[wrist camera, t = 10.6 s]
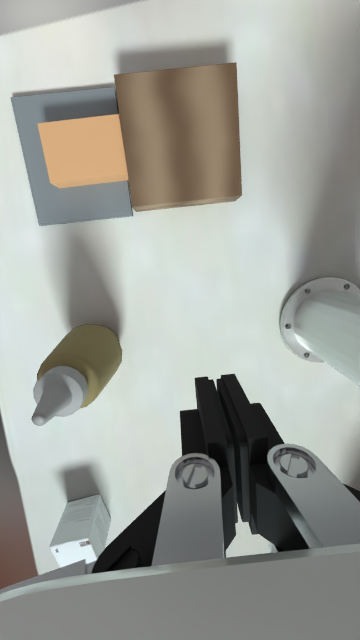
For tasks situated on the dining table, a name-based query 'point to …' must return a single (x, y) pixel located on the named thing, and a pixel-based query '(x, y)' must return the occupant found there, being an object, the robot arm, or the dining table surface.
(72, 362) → the squeeze bottle
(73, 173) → the tile
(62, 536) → the skincare box
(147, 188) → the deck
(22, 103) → the mat
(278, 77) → the dining table surface
